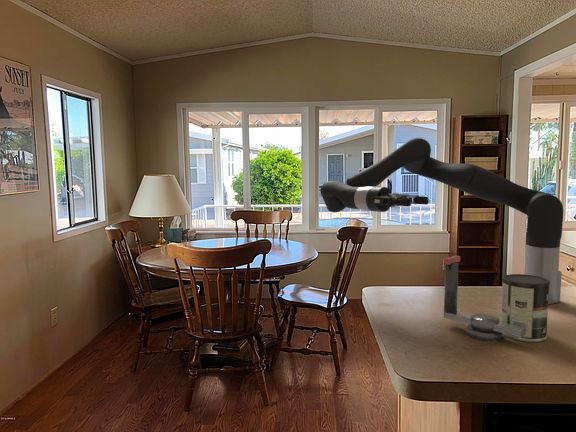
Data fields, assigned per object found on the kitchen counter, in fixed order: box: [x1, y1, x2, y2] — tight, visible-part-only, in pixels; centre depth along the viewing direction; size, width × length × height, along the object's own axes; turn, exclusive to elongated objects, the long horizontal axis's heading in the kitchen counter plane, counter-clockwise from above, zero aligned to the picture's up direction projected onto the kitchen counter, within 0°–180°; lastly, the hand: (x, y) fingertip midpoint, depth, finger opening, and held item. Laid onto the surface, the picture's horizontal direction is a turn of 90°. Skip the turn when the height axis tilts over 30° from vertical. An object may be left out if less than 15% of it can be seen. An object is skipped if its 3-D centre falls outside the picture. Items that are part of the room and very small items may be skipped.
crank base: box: [466, 324, 503, 342], centre depth 110 cm, size 8×8×2 cm
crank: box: [443, 254, 526, 338], centre depth 109 cm, size 20×6×16 cm, turn 42°
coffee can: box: [500, 273, 550, 343], centre depth 109 cm, size 10×10×14 cm
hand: (419, 201), depth 123 cm, fingers open, 8 cm apart
